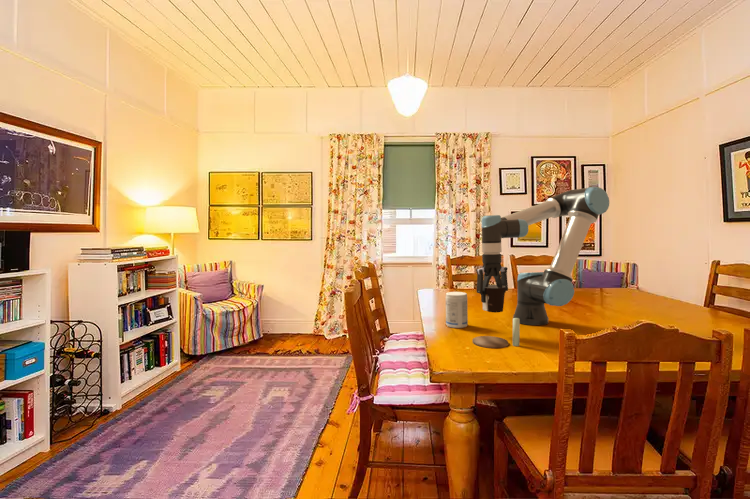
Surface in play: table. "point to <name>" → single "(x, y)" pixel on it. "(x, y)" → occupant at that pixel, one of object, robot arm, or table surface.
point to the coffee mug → (495, 298)
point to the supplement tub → (456, 309)
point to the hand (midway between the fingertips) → (492, 309)
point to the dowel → (516, 331)
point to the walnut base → (490, 342)
